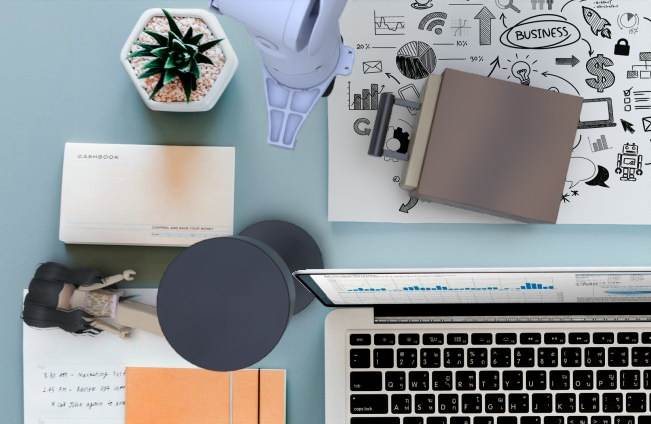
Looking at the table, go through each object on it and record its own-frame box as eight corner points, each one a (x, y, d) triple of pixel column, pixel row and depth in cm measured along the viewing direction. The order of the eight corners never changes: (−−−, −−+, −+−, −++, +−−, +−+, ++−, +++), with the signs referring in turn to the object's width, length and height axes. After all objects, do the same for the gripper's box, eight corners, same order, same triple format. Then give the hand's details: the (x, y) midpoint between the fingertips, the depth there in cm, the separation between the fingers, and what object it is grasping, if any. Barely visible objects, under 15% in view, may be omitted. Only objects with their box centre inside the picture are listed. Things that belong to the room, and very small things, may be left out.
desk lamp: (238, 210, 66) (159, 203, 38) (333, 231, 66) (323, 240, 38) (217, 305, 66) (122, 367, 38) (311, 327, 66) (286, 406, 38)
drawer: (361, 179, 65) (362, 175, 59) (383, 79, 65) (387, 64, 59) (511, 213, 64) (529, 212, 58) (533, 112, 65) (554, 100, 58)
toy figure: (185, 271, 67) (40, 255, 66) (170, 285, 60) (10, 267, 60) (179, 338, 67) (36, 322, 67) (164, 358, 61) (6, 341, 61)
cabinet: (408, 196, 66) (417, 193, 58) (433, 86, 66) (445, 67, 58) (530, 224, 65) (556, 224, 57) (555, 112, 65) (584, 97, 57)
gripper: (330, 151, 43) (334, 167, 57) (378, -60, 43) (370, 7, 57) (228, 128, 43) (256, 150, 57) (275, -82, 43) (292, -10, 57)
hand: (308, 77), depth 57 cm, fingers closed
